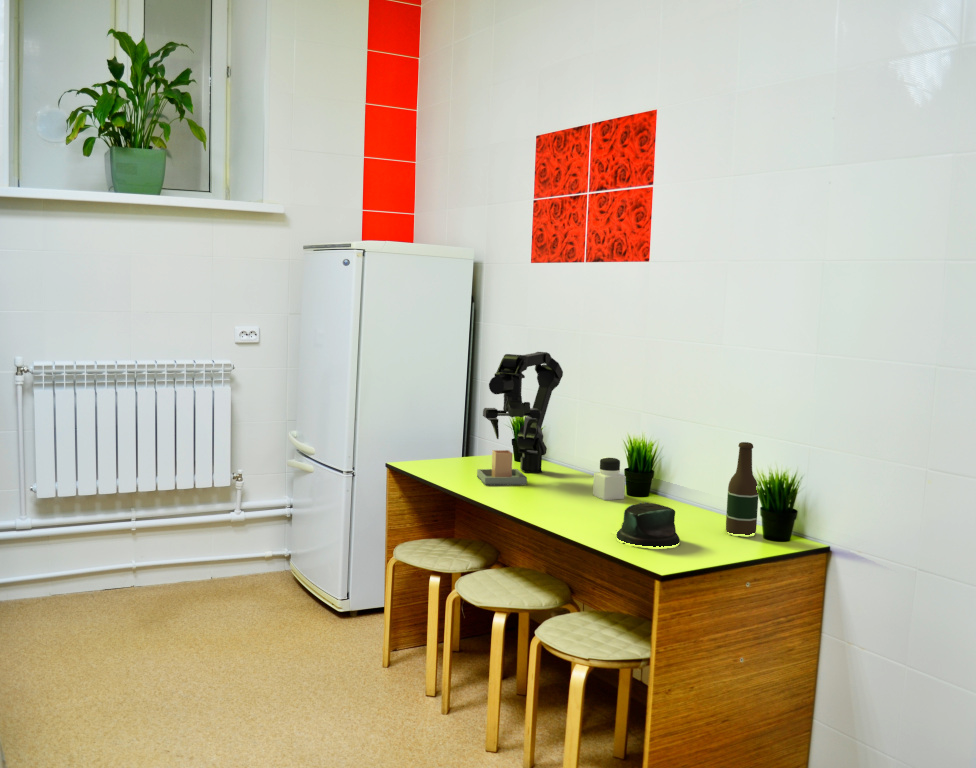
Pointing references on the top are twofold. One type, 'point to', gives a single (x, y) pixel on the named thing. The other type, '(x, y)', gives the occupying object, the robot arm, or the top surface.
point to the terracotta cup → (501, 463)
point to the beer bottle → (742, 495)
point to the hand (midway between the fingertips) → (511, 438)
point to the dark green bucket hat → (649, 525)
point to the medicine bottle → (609, 480)
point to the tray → (501, 478)
